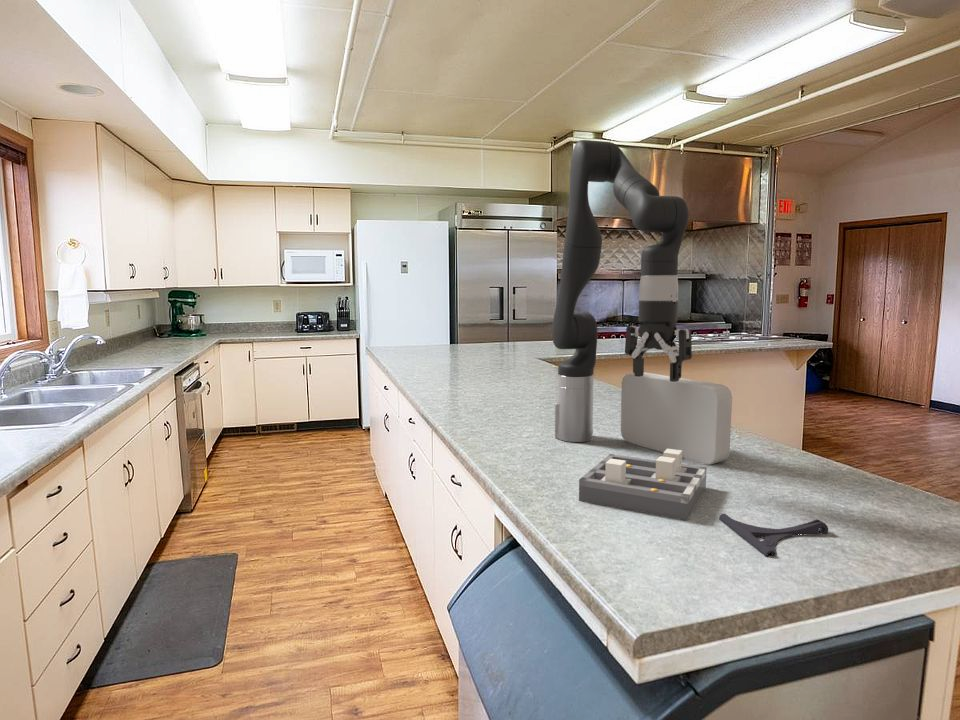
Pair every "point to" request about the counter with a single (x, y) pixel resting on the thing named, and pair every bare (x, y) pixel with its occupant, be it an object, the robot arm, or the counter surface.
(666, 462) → the switch middle
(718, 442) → the grey block
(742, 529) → the bracket
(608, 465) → the switch front
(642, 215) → the robot arm
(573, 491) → the counter surface
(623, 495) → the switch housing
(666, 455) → the switch back
